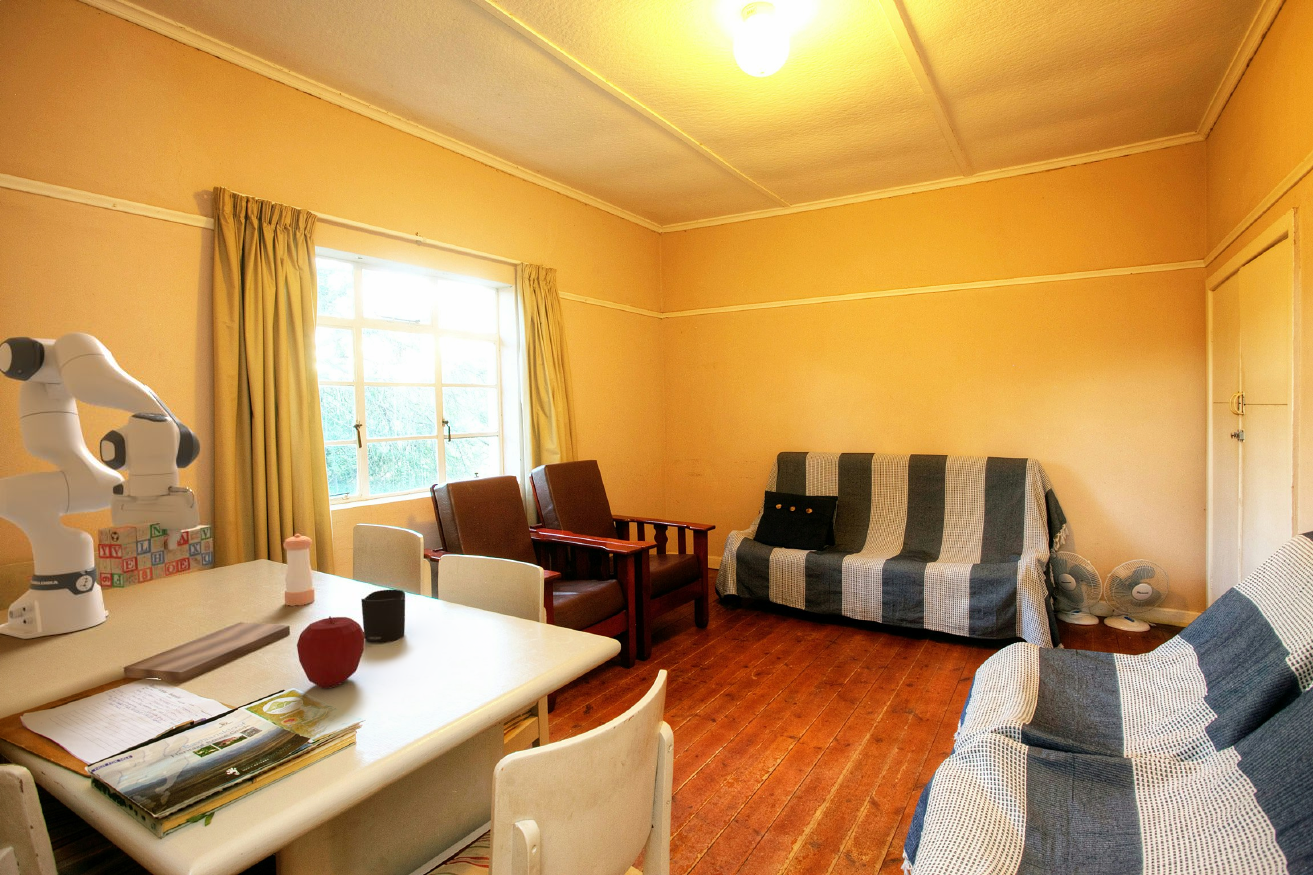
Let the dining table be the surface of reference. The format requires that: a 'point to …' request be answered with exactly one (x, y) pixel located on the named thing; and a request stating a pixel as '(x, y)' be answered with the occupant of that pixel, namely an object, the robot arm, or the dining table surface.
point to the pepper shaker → (298, 571)
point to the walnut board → (206, 652)
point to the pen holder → (384, 616)
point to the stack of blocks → (149, 553)
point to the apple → (331, 650)
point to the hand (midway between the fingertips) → (157, 548)
